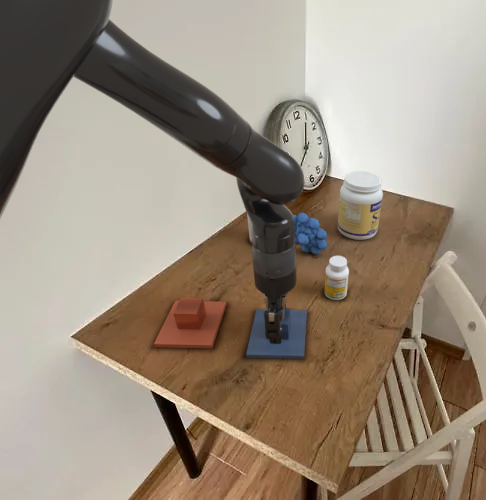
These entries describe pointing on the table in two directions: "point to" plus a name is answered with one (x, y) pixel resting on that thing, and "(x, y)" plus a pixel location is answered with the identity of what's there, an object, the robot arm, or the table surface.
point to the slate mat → (287, 347)
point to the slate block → (285, 324)
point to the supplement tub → (360, 205)
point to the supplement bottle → (336, 278)
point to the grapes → (309, 234)
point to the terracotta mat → (192, 337)
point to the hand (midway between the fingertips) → (278, 325)
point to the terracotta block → (190, 313)
